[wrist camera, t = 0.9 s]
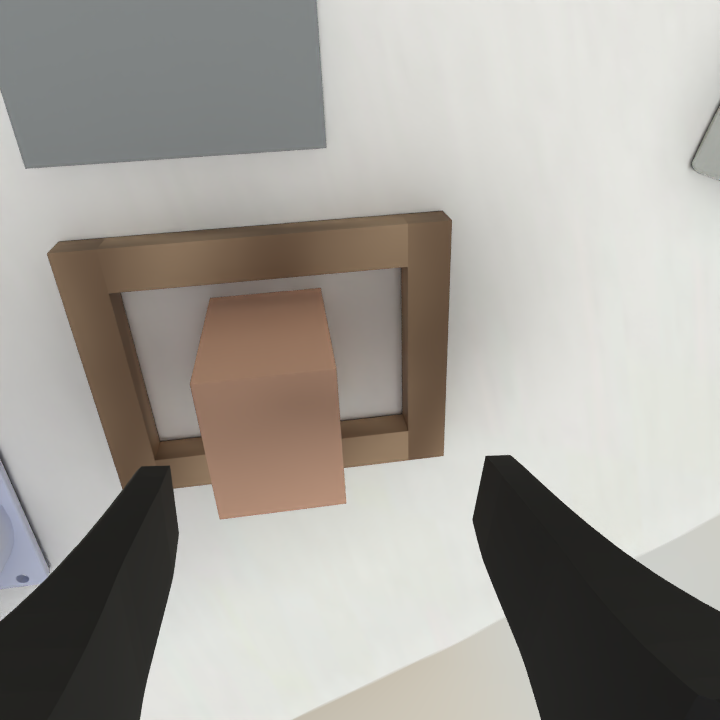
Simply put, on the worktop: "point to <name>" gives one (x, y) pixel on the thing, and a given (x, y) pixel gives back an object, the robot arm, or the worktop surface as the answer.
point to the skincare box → (709, 151)
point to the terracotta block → (269, 403)
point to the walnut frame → (248, 263)
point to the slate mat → (160, 78)
